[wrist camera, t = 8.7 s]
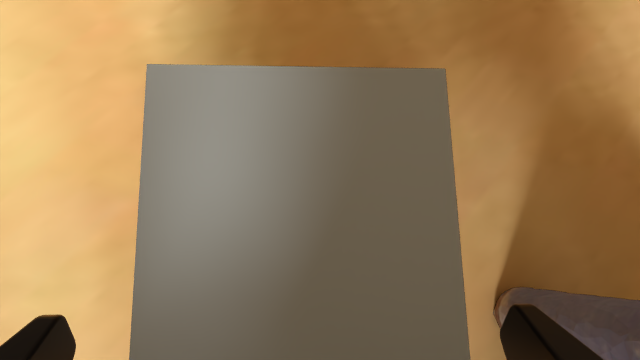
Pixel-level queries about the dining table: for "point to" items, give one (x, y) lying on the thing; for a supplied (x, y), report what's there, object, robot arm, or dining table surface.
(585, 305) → the flask
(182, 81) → the tower block
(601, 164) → the dining table surface
